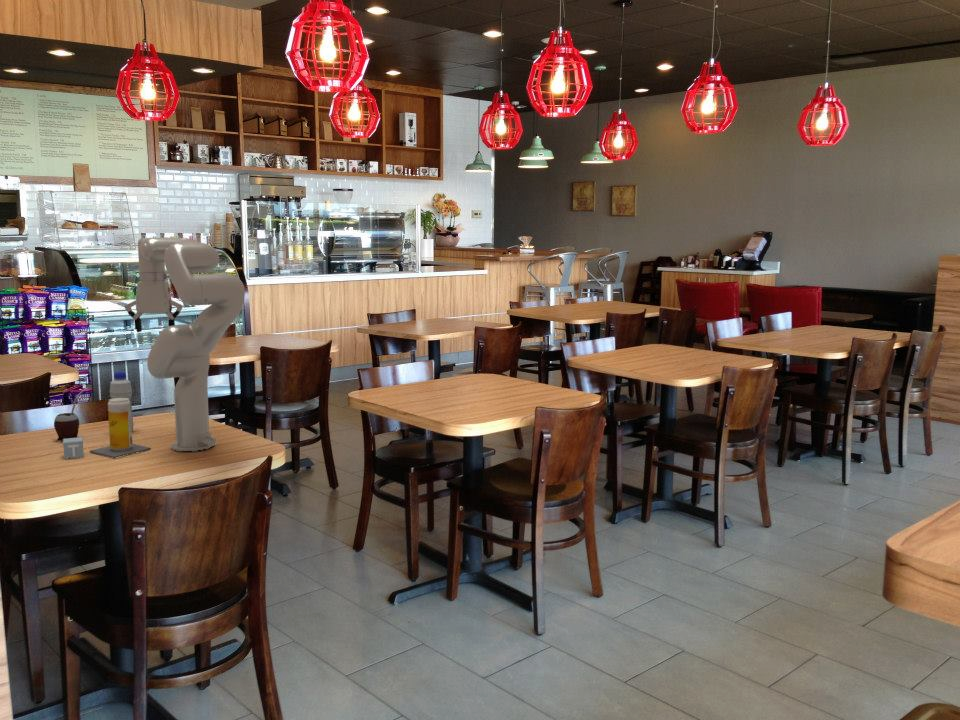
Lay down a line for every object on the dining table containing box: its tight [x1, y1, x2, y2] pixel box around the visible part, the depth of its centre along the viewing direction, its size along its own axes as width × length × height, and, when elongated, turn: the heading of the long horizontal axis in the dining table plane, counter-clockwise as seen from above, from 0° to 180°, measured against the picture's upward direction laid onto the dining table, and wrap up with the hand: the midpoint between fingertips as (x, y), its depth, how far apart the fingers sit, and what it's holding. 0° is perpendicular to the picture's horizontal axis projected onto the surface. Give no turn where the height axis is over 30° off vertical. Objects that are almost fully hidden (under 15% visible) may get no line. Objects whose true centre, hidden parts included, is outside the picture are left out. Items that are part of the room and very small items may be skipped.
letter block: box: [62, 436, 85, 460], centre depth 234 cm, size 5×5×5 cm
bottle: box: [109, 371, 134, 431], centre depth 262 cm, size 7×7×20 cm
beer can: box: [107, 398, 133, 451], centre depth 239 cm, size 6×6×15 cm
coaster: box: [89, 443, 152, 459], centre depth 240 cm, size 12×12×1 cm
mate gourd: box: [53, 390, 84, 443], centre depth 253 cm, size 8×8×15 cm
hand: (155, 331), depth 256 cm, fingers open, 9 cm apart
